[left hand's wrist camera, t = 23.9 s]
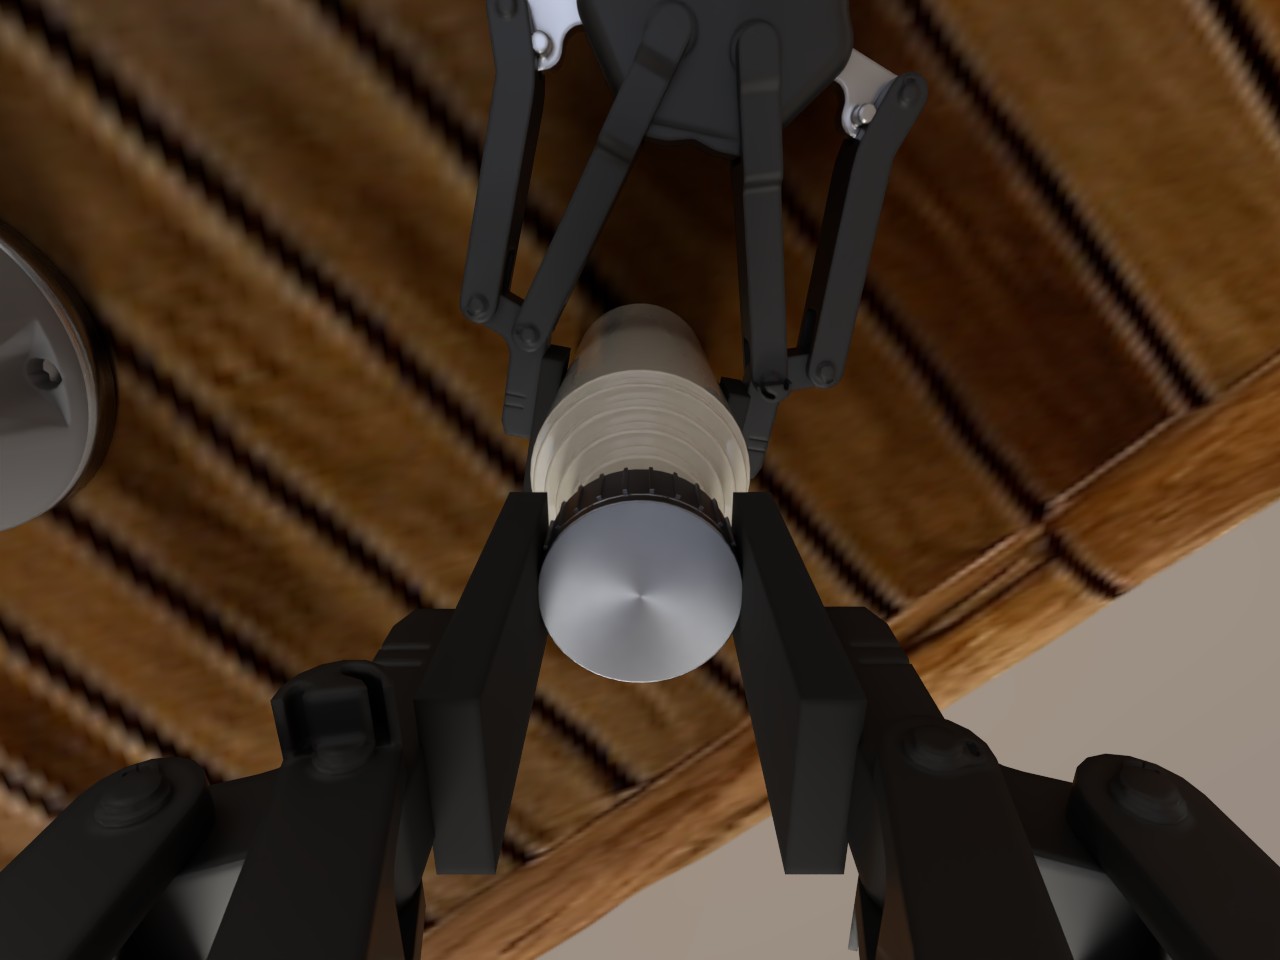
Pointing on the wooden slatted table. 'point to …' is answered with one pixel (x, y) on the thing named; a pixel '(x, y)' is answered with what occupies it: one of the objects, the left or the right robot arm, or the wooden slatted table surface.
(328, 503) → the wooden slatted table surface
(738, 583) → the cap
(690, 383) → the bottle
